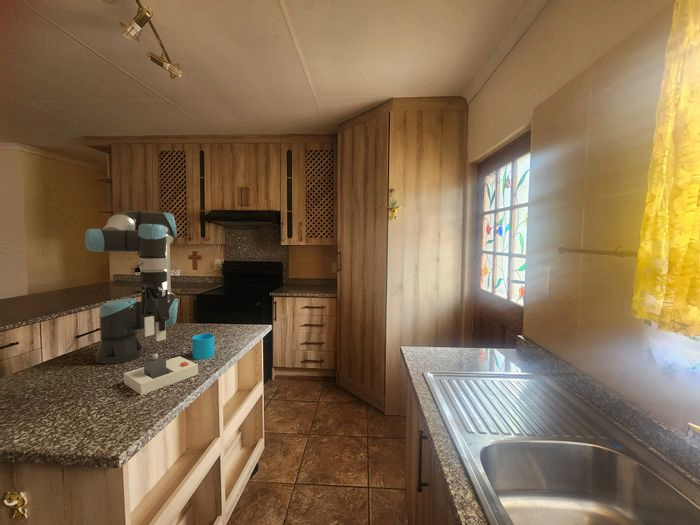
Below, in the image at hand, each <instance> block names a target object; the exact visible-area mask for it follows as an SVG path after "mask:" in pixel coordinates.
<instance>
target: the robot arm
mask: <svg viewBox="0 0 700 525" xmlns="http://www.w3.org/2000/svg"><path fill="white" fill-rule="evenodd" d="M177 232H178V230H177V225H176V219H175V217H174V214H172V213H170V212H164V211H161V212H159V211H145V210H143V211H141V210H128V211H122V212H119V213H116V214H114V215H112V216H111V217H109V218H108V220H107V222H106V225H105V226H104V227H103V228H89V229H87V230H86V231H85V235H84V236H85V237H84V239H85V240H84V242H85V246H86V249H87V250H88V251H89V252H96V253H97V252H99V253H104V252H105V253H107V252H111V253H112V252H115V253H116V252H117V253H118V252H124V253H126V252H127V253H129V252H135V253H136V252H137V253H139V260H138V261H137V264H138V265H139V270H140V272H139V282H140V283H141V284H145V285H141V286H140V294H141V295H140V301H137V299H136V298H135V297H129V298H121V299H115V300H112V301H107V302H105V303H103V304H102V305H101V306H100V309H99V316H98V318H99V325H100V343H99V345H98V348H97V351H96V354H95V362H96V363H97V364H100V365H111V364H113V365H114V364H120V363H125V362H128V361H132V360H135V359H137V358H139V357H141V356H142V355H143V354H144V347H143V345H142V342H141V341H140V338H139V336H138V330H144V337H149V336H154V335H155V341H156V342H160V341H165V340H167V328H166V327H172V326H174V325H175V324H176V323H177V319H178V318H177V317H178V309H179V307H178V306H179V303H180V302H179V300H180V299H179V298H176V294H175V293H173V292H172V288H171V287H172V286H171V280H172V279H171V243H172V242H173V241H174V239H175V238H177V237H178V236H177V235H178V233H177Z"/></svg>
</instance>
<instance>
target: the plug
mask: <svg viewBox="0 0 700 525" xmlns="http://www.w3.org/2000/svg"><path fill="white" fill-rule="evenodd" d="M166 360H167V359H166V358H164V357H162V356H160V355H159V354H158V353H157V352H155V353H152V354H151V358H149V359H144V360H143V367H144V374H145V375H147V376H149V377H150V378H152V379H154V378H157V377H160V376H163V375H166Z"/></svg>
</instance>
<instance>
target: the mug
mask: <svg viewBox="0 0 700 525" xmlns="http://www.w3.org/2000/svg"><path fill="white" fill-rule="evenodd" d="M191 340H192V342H191V343H192V359H194V360H206V359H207V360H208V359H210V358H212V357H214V356H215V335H214V333H200V334H196V335H193V336H192V338H191Z"/></svg>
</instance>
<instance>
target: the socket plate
mask: <svg viewBox="0 0 700 525" xmlns="http://www.w3.org/2000/svg"><path fill="white" fill-rule="evenodd" d="M197 375H199V364H198V363H195V362H193V361H191V360H189V359H187V358H184V357H182V356H180V355H179V356H176V357H173V358H169V359H166V375H163V376H160V377H157V378H154V379H152V378H150V377H149V376H147V375H145V374H144V366H143V367H140V368H139V367H138V368H137V369H133V370H130V371H127V372H124V373H123V384H124V385H126V386H127V387H129V388H130V389H132V390H133V391H135V393H137V394H139V395H140V396H144V395H146V394H148V393H152V392H154V391H156V389H157V390H159V388H160V389H162V388H164V386H165V387H168V386H170V385H172V384H175V383H179V382H181V381H184V380H186V379H190V378H192V377H194V376H197ZM167 385H168V386H167ZM151 391H152V392H151ZM143 394H144V395H143Z"/></svg>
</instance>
